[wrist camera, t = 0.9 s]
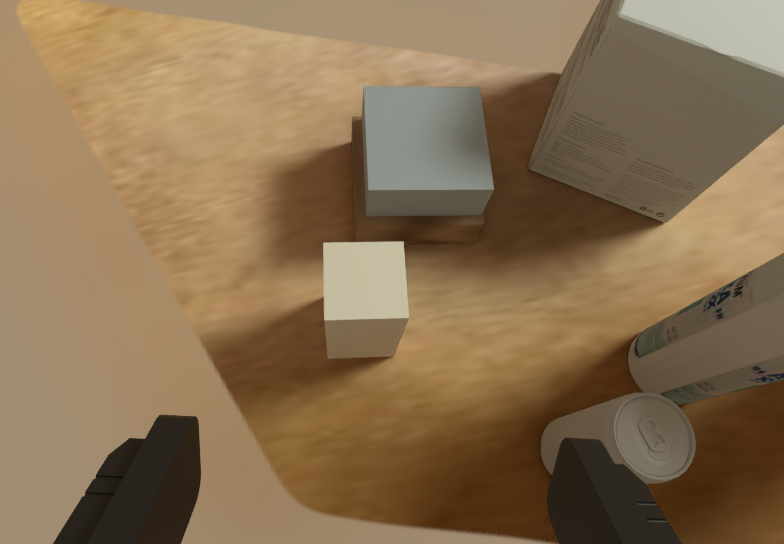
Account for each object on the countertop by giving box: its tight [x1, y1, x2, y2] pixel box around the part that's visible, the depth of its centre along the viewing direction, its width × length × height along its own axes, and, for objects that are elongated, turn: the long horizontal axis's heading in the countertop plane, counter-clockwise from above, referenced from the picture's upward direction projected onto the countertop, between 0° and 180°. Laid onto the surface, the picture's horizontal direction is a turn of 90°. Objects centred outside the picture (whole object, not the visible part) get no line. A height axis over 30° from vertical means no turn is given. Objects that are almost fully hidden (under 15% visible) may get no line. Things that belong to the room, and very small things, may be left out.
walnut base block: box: [352, 117, 485, 244], centre depth 46 cm, size 10×10×4 cm
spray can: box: [628, 253, 784, 405], centre depth 35 cm, size 6×6×20 cm
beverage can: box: [540, 393, 696, 484], centre depth 35 cm, size 5×5×12 cm
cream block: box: [323, 241, 409, 359], centre depth 38 cm, size 5×5×10 cm
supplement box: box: [528, 0, 784, 223], centre depth 43 cm, size 13×13×18 cm
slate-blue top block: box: [362, 86, 494, 217], centre depth 43 cm, size 9×9×4 cm
